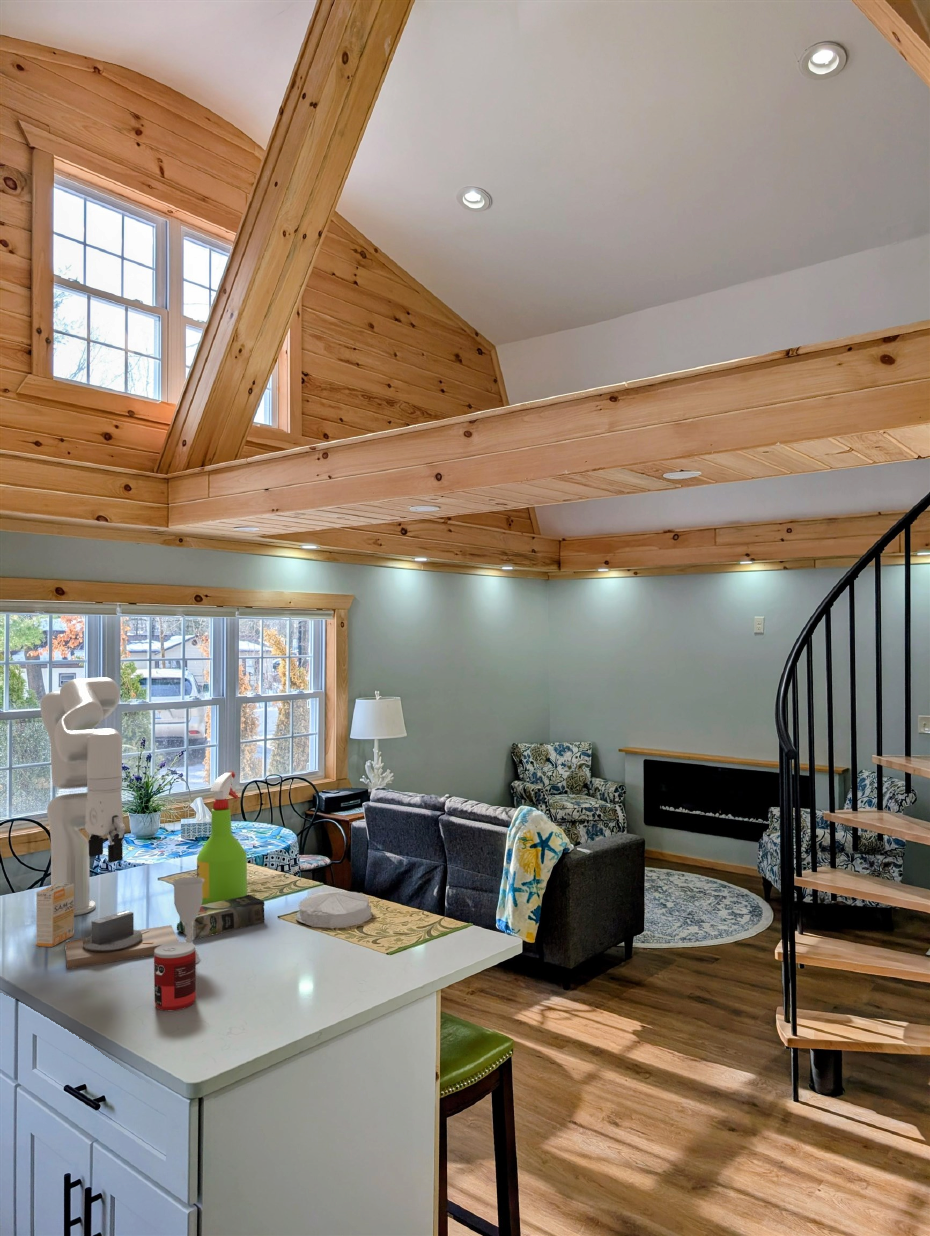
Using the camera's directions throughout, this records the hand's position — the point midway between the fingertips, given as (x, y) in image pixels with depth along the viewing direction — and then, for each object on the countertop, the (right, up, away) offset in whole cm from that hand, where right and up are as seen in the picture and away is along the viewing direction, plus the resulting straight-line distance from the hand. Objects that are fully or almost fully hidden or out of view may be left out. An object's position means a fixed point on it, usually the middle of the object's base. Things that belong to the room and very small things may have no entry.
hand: (105, 858), depth 202 cm
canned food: (+26, -21, -29) cm, 44 cm away
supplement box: (-16, -23, +10) cm, 30 cm away
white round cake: (+50, -23, +25) cm, 60 cm away
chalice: (+21, -22, -5) cm, 31 cm away
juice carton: (+22, -23, +18) cm, 37 cm away
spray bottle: (+16, -24, +44) cm, 53 cm away
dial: (+1, -20, +2) cm, 20 cm away
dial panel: (+3, -22, +2) cm, 23 cm away
